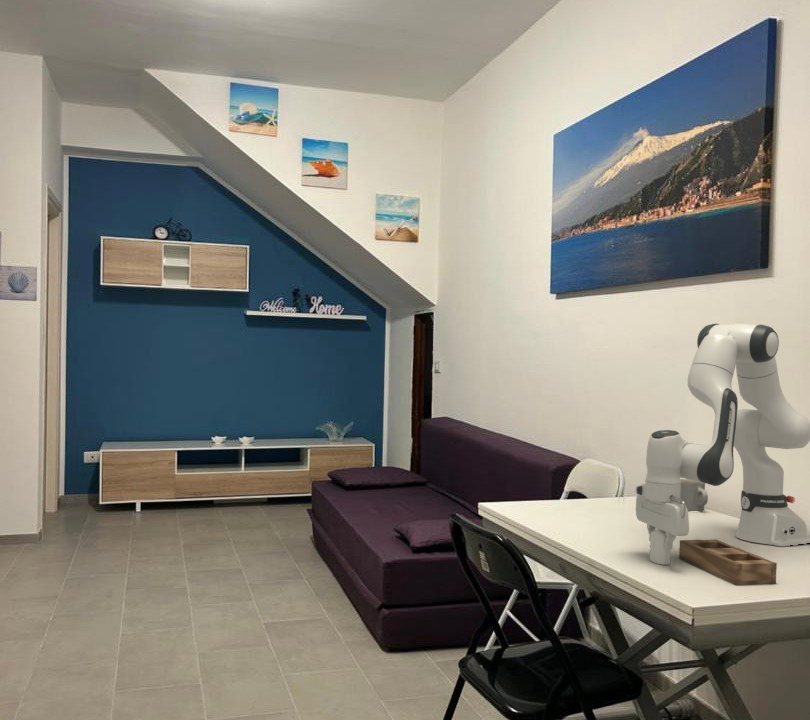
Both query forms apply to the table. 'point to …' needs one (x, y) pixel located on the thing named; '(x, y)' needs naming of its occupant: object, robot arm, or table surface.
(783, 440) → the robot arm
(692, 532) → the table surface
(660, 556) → the eye dropper bottle
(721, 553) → the walnut slot rail
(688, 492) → the coffee mug
